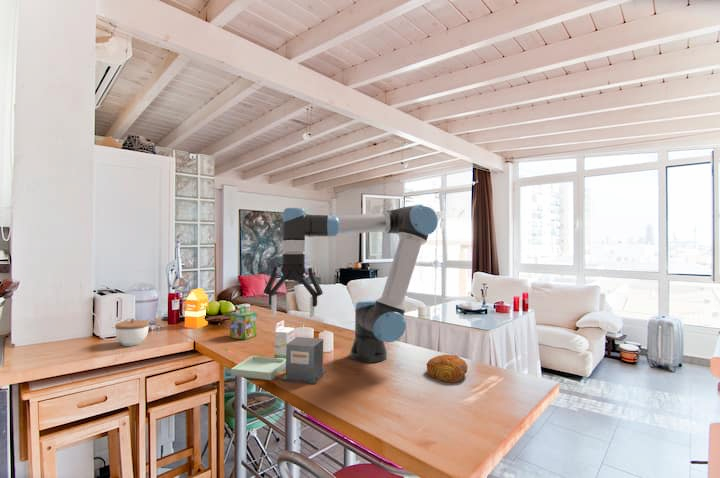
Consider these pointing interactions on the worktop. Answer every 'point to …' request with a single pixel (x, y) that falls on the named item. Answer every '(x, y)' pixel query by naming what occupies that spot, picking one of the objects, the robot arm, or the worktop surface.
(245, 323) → the floral tea caddy
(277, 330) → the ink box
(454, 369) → the brown rounded lump
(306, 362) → the unit
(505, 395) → the worktop surface
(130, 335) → the lidded bowl
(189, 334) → the worktop surface
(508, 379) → the worktop surface
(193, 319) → the orange juice
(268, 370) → the tray
